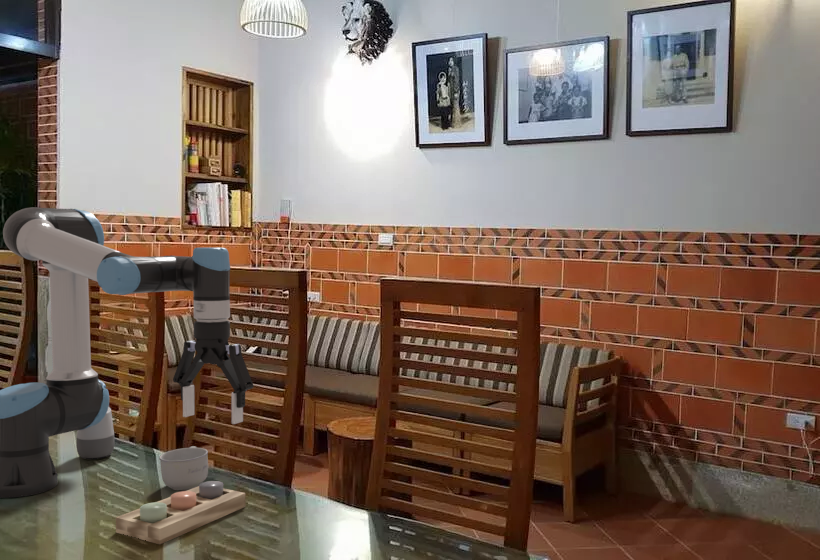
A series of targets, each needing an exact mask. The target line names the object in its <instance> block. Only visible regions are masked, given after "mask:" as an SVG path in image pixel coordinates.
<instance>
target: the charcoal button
mask: <svg viewBox="0 0 820 560" xmlns="http://www.w3.org/2000/svg"><path fill="white" fill-rule="evenodd" d="M223 488H224V482H223V481H219V480H208V481H203V482H202V483H201V484H200V485H199V497H202V498H207V499H211V500H212V499H215V498H217V497H220V496H222V495H223Z"/></svg>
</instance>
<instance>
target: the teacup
mask: <svg viewBox="0 0 820 560" xmlns="http://www.w3.org/2000/svg"><path fill="white" fill-rule="evenodd" d="M208 453H209V451H208V450H207V449H206V448H202V447H197V446H194V445H192V446H189V447H184V448H182V447H181V448H177V449H172V450H168V451H165V452H164V453H162V454H161V455H160V456H159V463H160V473H161V480H162V483H163V484H165V485H166V486H167V487H169V488H170V489H171V490H174V491H187V490H190V489H192V488H195V487H198V486H199V485H200V484H201V483H203V482H205V480H206V479H207V477H208V475H209V459H208Z"/></svg>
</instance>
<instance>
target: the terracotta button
mask: <svg viewBox="0 0 820 560" xmlns="http://www.w3.org/2000/svg"><path fill="white" fill-rule="evenodd" d="M170 497H171V508H173V509H177V510H181V511H185V510H188V509H190V508H192V507H195V506H196V493H195V492H192V491H187V490H180V491H176V492H174V493H172V494H170Z"/></svg>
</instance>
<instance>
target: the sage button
mask: <svg viewBox="0 0 820 560" xmlns="http://www.w3.org/2000/svg"><path fill="white" fill-rule="evenodd" d="M139 508H140V521H144V522H148V523H152V524H153V523H156V522H158V521H160V520H163V519H165V518H167V505H166V504H165V503H161V502H158V501H155V502H148V503H145V504H143V505H141V506H139Z"/></svg>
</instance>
